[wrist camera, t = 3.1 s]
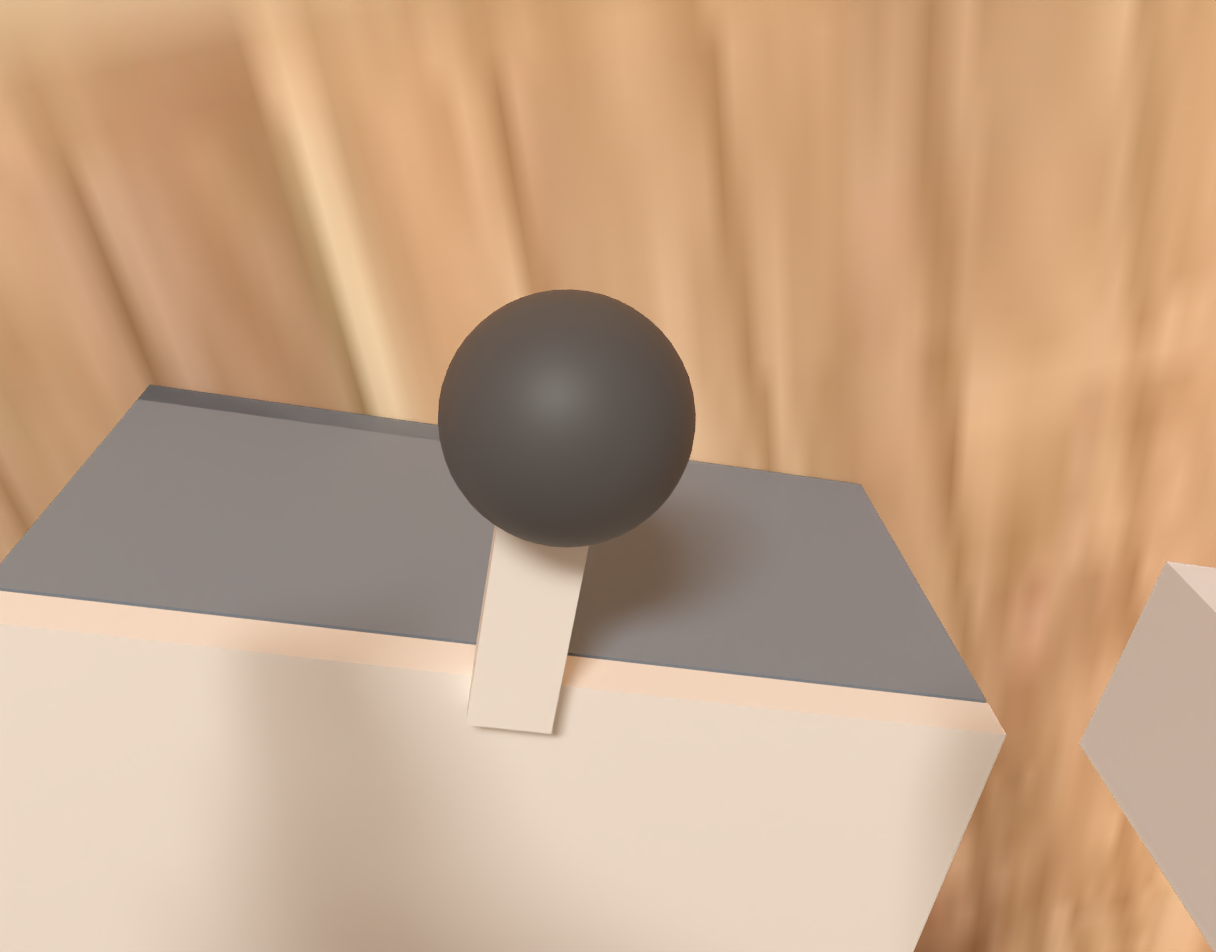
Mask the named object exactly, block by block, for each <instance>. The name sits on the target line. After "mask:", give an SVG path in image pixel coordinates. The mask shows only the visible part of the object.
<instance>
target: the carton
mask: <svg viewBox="0 0 1216 952" xmlns="http://www.w3.org/2000/svg"><path fill="white" fill-rule="evenodd" d="M494 526H495V525H494V524H492V523H491V522H490V521H488V520H487V519H486V518H485V517H483V516H482V515H481V514H480V513H479V512H478V511H477V510H476V509H475V508H474V507H473V506H472V505H471V504H470V503H469V501H468V500H467V499H466V497H465V496H464V495H463V493H462V492H461V491H460V489H459V488H458V486H457V485H456V483H455V481H454V479H453V478H452V476H451V474H450V471H449V469H448V466H447V464H446V461H445V458H444V455H443V451H442V447H441V443H440V439H439V428H438V425H433V424H426V423H419V422H412V421H405V420H397V419H390V418H383V417H376V416H369V415H362V414H355V413H347V412H340V411H333V410H326V409H319V408H312V407H305V406H297V405H290V404H283V403H276V402H269V401H262V400H255V399H247V398H240V397H233V396H226V395H219V394H212V393H205V392H197V391H190V390H183V389H176V388H169V387H162V386H155V385H149V386H148V388H147V389H146V390H145V391H144V392H143V394H142V395H141V396H140V397H139V398H138V400H137V401H136V402H135V403H134V404H133V406H132V407H131V408H130V409H129V410H128V412H127V413H126V414H125V415H124V416H123V418H122V419H121V420H120V421H119V422H118V424H117V425H116V426H115V427H114V428H113V430H112V431H111V432H110V433H109V434H108V436H107V437H106V438H105V439H104V440H103V442H102V443H101V444H100V445H99V446H98V448H97V449H96V450H95V451H94V452H93V454H92V455H91V456H90V457H89V458H88V460H87V461H86V462H85V463H84V464H83V466H82V467H81V468H80V469H79V470H78V471H77V473H76V474H75V475H74V476H73V477H72V479H71V480H70V481H69V482H68V483H67V485H66V486H65V487H64V488H63V489H62V491H61V492H60V493H59V494H58V495H57V497H56V498H55V499H54V500H53V501H52V503H51V504H50V505H49V506H48V507H47V509H46V510H45V511H44V512H43V513H42V515H41V516H40V517H39V518H38V519H37V521H36V522H35V523H34V524H33V525H32V527H31V528H30V529H29V530H28V531H27V533H26V534H25V535H24V536H23V537H22V539H21V540H20V541H19V542H18V543H17V545H16V546H15V547H14V548H13V549H12V551H11V552H10V553H9V554H8V555H7V557H6V558H5V559H4V560H3V561H2V563H1V564H0V591H7V592H15V593H24V594H33V595H42V596H50V597H59V598H68V599H77V600H85V601H94V602H103V603H112V604H121V605H129V606H138V607H147V608H156V609H164V610H173V611H182V612H191V613H200V614H208V615H217V616H226V617H235V618H243V619H252V620H261V621H270V622H279V623H287V624H296V625H305V626H314V627H322V628H331V629H340V630H349V631H357V632H366V633H375V634H384V635H393V636H401V637H410V638H419V639H428V640H436V641H445V642H454V643H463V644H472V645H476V642H477V635H478V629H479V622H480V616H481V610H482V603H483V597H484V590H485V584H486V577H487V571H488V565H489V558H490V552H491V545H492V539H493V533H494ZM567 655H568V656H577V657H586V658H594V659H603V660H612V661H621V662H630V663H638V664H647V665H656V666H665V667H673V668H682V669H691V670H700V671H708V672H717V673H726V674H735V675H744V676H752V677H761V678H770V679H779V680H787V681H796V682H805V683H814V684H823V685H831V686H840V687H849V688H858V689H866V690H875V691H884V692H893V693H902V694H910V695H919V696H928V697H937V698H945V699H954V700H963V701H972V702H981V703H986V699H985V697H984V695H983V694H982V692H981V690H980V688H979V687H978V685H977V683H976V682H975V680H974V678H973V676H972V675H971V673H970V671H969V670H968V668H967V666H966V664H965V663H964V661H963V659H962V658H961V656H960V654H959V652H958V651H957V649H956V647H955V646H954V644H953V642H952V640H951V639H950V637H949V635H948V633H947V632H946V630H945V628H944V627H943V625H942V623H941V621H940V620H939V618H938V616H937V615H936V613H935V611H934V609H933V608H932V606H931V604H930V603H929V601H928V599H927V597H926V596H925V594H924V592H923V590H922V589H921V587H920V585H919V584H918V582H917V580H916V578H915V577H914V575H913V573H912V572H911V570H910V568H909V566H908V565H907V563H906V561H905V560H904V558H903V556H902V554H901V553H900V551H899V549H898V548H897V546H896V544H895V542H894V541H893V539H892V537H891V535H890V534H889V532H888V530H887V529H886V527H885V525H884V523H883V522H882V520H881V518H880V517H879V515H878V513H877V511H876V510H875V508H874V506H873V505H872V503H871V501H870V499H869V498H868V496H867V494H866V492H865V491H864V489H863V487H862V486H861V484H855V483H848V482H840V481H833V480H826V479H819V478H812V477H805V476H798V475H790V474H783V473H776V472H769V471H762V470H755V469H748V468H740V467H733V466H726V465H719V464H712V463H705V462H698V461H690V460H689V461H688V464H687V466H686V468H685V471H684V473H683V475H682V477H681V479H680V481H679V483H678V484H677V486H676V487H675V489H674V490H673V492H672V494H671V495H670V497H669V498H668V499H667V500H666V501H665V502H664V504H663V505H662V506H661V507H660V508H659V509H658V510H657V511H656V512H655V513H654V514H653V515H652V516H650V517H649V518H648V519H647V520H645V521H644V522H642V523H641V524H640V525H638V526H637V527H636V528H634V529H632V530H630V531H629V532H627V533H625V534H623V535H621V536H619V537H616V538H614V539H611V540H609V541H605V542H602V543H598V544H595V545H589V548H588V553H587V558H586V563H585V568H584V573H583V578H582V583H581V588H580V593H579V598H578V603H577V608H576V613H575V618H574V623H573V628H572V633H571V638H570V643H569V648H568V653H567Z"/></svg>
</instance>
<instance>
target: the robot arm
mask: <svg viewBox="0 0 1216 952" xmlns="http://www.w3.org/2000/svg"><path fill="white" fill-rule="evenodd" d="M1079 745H1080V746H1081V748H1082V749H1083V751H1084V752H1085V754H1086V755H1087V757H1088V759H1089V760H1090V762H1091V763H1092V765H1093V766H1094V768H1095V769H1096V771H1097V772H1098V774H1099V776H1100V777H1101V779H1102V780H1103V782H1104V783H1105V785H1106V786H1107V788H1108V790H1109V791H1110V793H1111V794H1112V796H1113V797H1114V799H1115V800H1116V802H1117V803H1118V805H1119V807H1120V808H1121V810H1122V811H1123V813H1124V814H1125V816H1126V817H1127V819H1128V820H1129V822H1130V824H1131V825H1132V827H1133V828H1134V830H1135V831H1136V833H1137V834H1138V836H1139V837H1140V839H1141V841H1142V842H1143V844H1144V845H1145V847H1146V848H1147V850H1148V851H1149V853H1150V855H1151V856H1152V858H1153V859H1154V861H1155V862H1156V864H1157V865H1158V867H1159V868H1160V870H1161V872H1162V873H1163V875H1164V876H1165V878H1166V879H1167V881H1168V882H1169V884H1170V885H1171V887H1172V889H1173V890H1174V892H1175V893H1176V895H1177V896H1178V898H1179V899H1180V901H1181V902H1182V904H1183V906H1184V907H1185V909H1186V910H1187V912H1188V913H1189V915H1190V916H1191V918H1192V920H1193V921H1194V923H1195V924H1196V926H1197V927H1198V929H1199V930H1200V932H1201V933H1202V935H1203V937H1204V938H1205V940H1206V941H1207V943H1208V944H1209V946H1210V947H1211V949H1212V950H1213V952H1216V568H1212V567H1204V566H1197V565H1190V564H1182V563H1175V562H1168V561H1166V563H1165V565H1164V567H1163V569H1162V571H1161V574H1160V576H1159V578H1158V580H1157V582H1156V584H1155V586H1154V588H1153V590H1152V592H1151V594H1150V597H1149V599H1148V601H1147V603H1146V605H1145V607H1144V609H1143V611H1142V613H1141V615H1140V617H1139V620H1138V622H1137V624H1136V626H1135V628H1134V630H1133V632H1132V634H1131V636H1130V638H1129V640H1128V643H1127V645H1126V647H1125V649H1124V651H1123V653H1122V655H1121V657H1120V659H1119V661H1118V663H1117V666H1116V668H1115V670H1114V672H1113V674H1112V676H1111V678H1110V680H1109V682H1108V684H1107V686H1106V689H1105V691H1104V693H1103V695H1102V697H1101V699H1100V701H1099V703H1098V705H1097V707H1096V709H1095V712H1094V714H1093V716H1092V718H1091V720H1090V722H1089V724H1088V726H1087V728H1086V730H1085V732H1084V735H1083V737H1082V739H1081V741H1080V743H1079Z"/></svg>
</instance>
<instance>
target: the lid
mask: <svg viewBox="0 0 1216 952" xmlns="http://www.w3.org/2000/svg"><path fill="white" fill-rule="evenodd" d="M695 416H696V413H695V405H694V397H693V391H692V387H691V384H690V380H689V376H688V374H687V372H686V369H685V367H684V365H683V362H682V360H681V359H680V357H679V355H678V353H677V352H676V350H675V349H674V347H673V345H672V344H671V342H670V341H669V340H668V339H667V337H666V336H665V335H664V334H663V332H662V331H661V330H660V329H659V328H658V327H657V326H655V325H654V324H653V323H652V322H651V321H650V320H649V319H648V318H646V317H645V316H644V315H642V314H641V313H639V312H638V311H636V310H635V309H634V308H632V307H630V306H628V305H626V304H624V303H622V302H621V301H619V300H616V299H613V298H611V297H608V296H605V295H602V294H597V293H593V292H589V291H580V290H552V291H546V292H539V293H535V294H532V295H529V296H525V297H522V298H520V299H517V300H515V301H513V302H510V303H508V304H506V305H505V306H503V307H501V308H500V309H498V310H496V311H495V312H493V313H492V314H491V315H489V316H488V317H487V318H486V319H484V320H483V321H482V322H481V323H480V324H479V325H478V326H477V327H476V328H475V329H474V330H473V331H472V332H471V333H470V334H469V335H468V336H467V337H466V339H465V340H464V341H463V343H462V344H461V346H460V347H459V348H458V350H457V351H456V353H455V355H454V357H453V359H452V361H451V363H450V365H449V368H448V370H447V373H446V376H445V379H444V381H443V384H442V388H441V393H440V399H439V411H438V428H439V439H440V443H441V447H442V451H443V455H444V458H445V461H446V464H447V466H448V469H449V471H450V474H451V476H452V478H453V479H454V481H455V483H456V485H457V486H458V488H459V489H460V491H461V492H462V493H463V495H464V496H465V497H466V499H467V500H468V501H469V503H470V504H471V505H472V506H473V507H474V508H475V509H476V510H477V511H478V512H479V513H480V514H481V515H482V516H483V517H485V518H486V519H487V520H488V521H490V522H491V523H492V524H494V525H495V526H494V533H493V539H492V545H491V552H490V558H489V565H488V571H487V577H486V584H485V590H484V597H483V603H482V610H481V616H480V622H479V629H478V635H477V642H476V645H472V644H463V643H454V642H445V641H436V640H428V639H419V638H410V637H401V636H393V635H384V634H375V633H366V632H357V631H349V630H340V629H331V628H322V627H314V626H305V625H296V624H287V623H279V622H270V621H261V620H252V619H243V618H235V617H226V616H217V615H208V614H200V613H191V612H182V611H173V610H164V609H156V608H147V607H138V606H129V605H121V604H112V603H103V602H94V601H85V600H77V599H68V598H59V597H50V596H42V595H33V594H24V593H15V592H7V591H0V952H913V951H914V949H915V946H916V944H917V942H918V939H919V937H920V935H921V932H922V930H923V928H924V925H925V923H926V921H927V918H928V916H929V914H930V911H931V909H932V907H933V904H934V902H935V900H936V897H937V895H938V893H939V890H940V888H941V886H942V883H943V881H944V879H945V876H946V874H947V872H948V869H949V867H950V865H951V863H952V860H953V858H954V856H955V853H956V851H957V849H958V846H959V844H960V842H961V839H962V837H963V835H964V832H965V830H966V828H967V825H968V823H969V821H970V818H971V816H972V814H973V811H974V809H975V807H976V804H977V802H978V800H979V797H980V795H981V793H982V790H983V788H984V786H985V783H986V781H987V779H988V776H989V774H990V772H991V769H992V767H993V765H994V762H995V760H996V758H997V755H998V753H999V751H1000V748H1001V746H1002V744H1003V742H1004V739H1005V737H1006V733H1005V731H1004V730H1003V728H1002V726H1001V725H1000V723H999V721H998V719H997V718H996V716H995V714H994V713H993V711H992V709H991V707H990V706H989V704H988V703H981V702H972V701H963V700H954V699H945V698H937V697H928V696H919V695H910V694H902V693H893V692H884V691H875V690H866V689H858V688H849V687H840V686H831V685H823V684H814V683H805V682H796V681H787V680H779V679H770V678H761V677H752V676H744V675H735V674H726V673H717V672H708V671H700V670H691V669H682V668H673V667H665V666H656V665H647V664H638V663H630V662H621V661H612V660H603V659H594V658H586V657H577V656H568V655H567V653H568V648H569V643H570V638H571V633H572V628H573V623H574V618H575V613H576V608H577V603H578V598H579V593H580V588H581V583H582V578H583V573H584V568H585V563H586V558H587V553H588V548H589V545H595V544H598V543H602V542H605V541H609V540H611V539H614V538H616V537H619V536H621V535H623V534H625V533H627V532H629V531H630V530H632V529H634V528H636V527H637V526H638V525H640V524H641V523H642V522H644V521H645V520H647V519H648V518H649V517H650V516H652V515H653V514H654V513H655V512H656V511H657V510H658V509H659V508H660V507H661V506H662V505H663V504H664V502H665V501H666V500H667V499H668V498H669V497H670V495H671V494H672V492H673V490H674V489H675V487H676V486H677V484H678V483H679V481H680V479H681V477H682V475H683V473H684V471H685V468H686V466H687V464H688V461H689V457H690V454H691V451H692V445H693V439H694V433H695Z"/></svg>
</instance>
